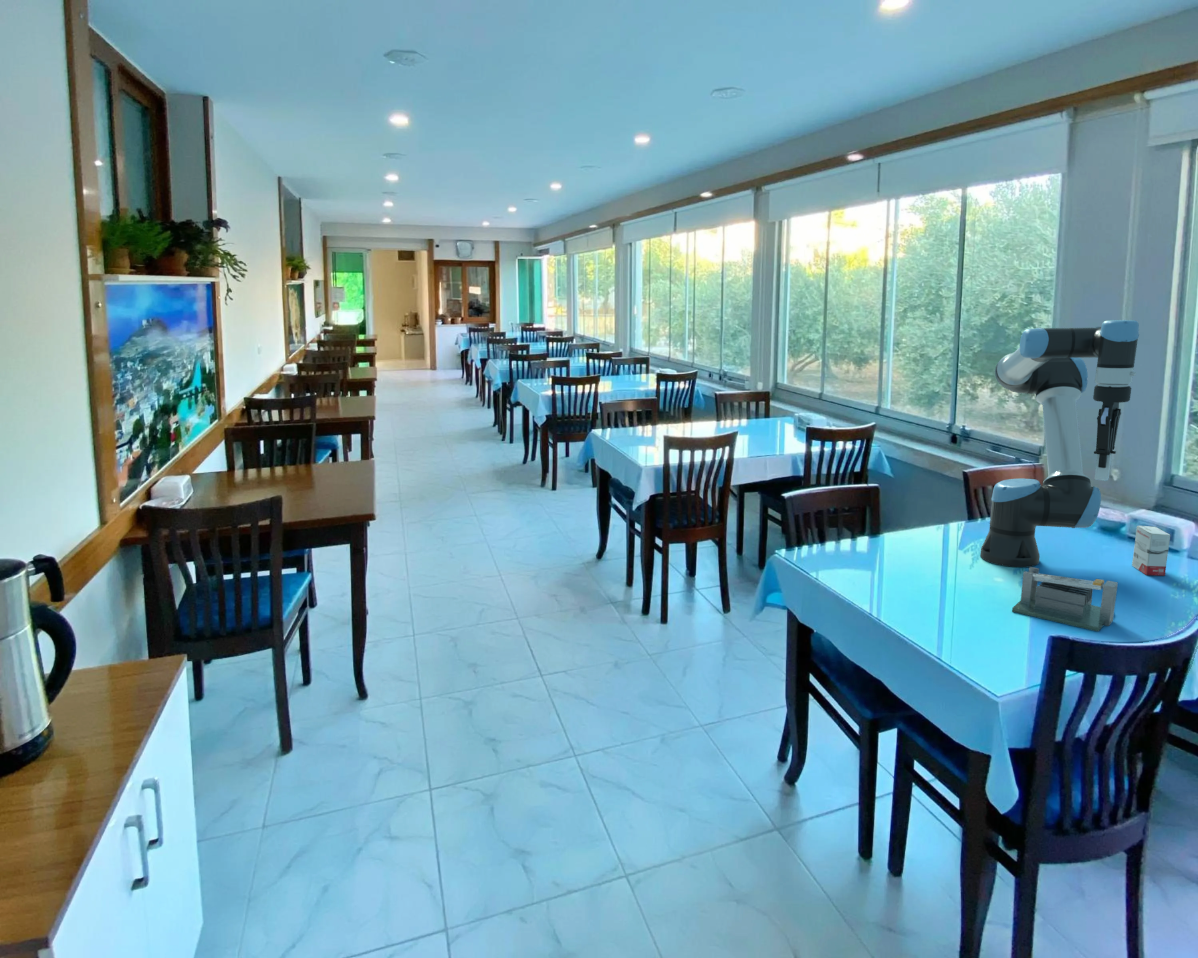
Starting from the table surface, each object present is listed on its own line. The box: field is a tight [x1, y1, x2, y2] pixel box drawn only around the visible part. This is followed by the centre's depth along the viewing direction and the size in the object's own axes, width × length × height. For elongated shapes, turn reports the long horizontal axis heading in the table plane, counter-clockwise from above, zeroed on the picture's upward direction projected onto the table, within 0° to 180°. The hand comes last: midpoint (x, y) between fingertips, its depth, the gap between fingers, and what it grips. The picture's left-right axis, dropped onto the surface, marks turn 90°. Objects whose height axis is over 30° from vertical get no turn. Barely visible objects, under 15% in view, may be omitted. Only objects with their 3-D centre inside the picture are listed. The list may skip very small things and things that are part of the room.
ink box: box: [1131, 525, 1171, 577], centre depth 210 cm, size 9×5×12 cm, turn 168°
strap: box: [1031, 572, 1105, 591], centre depth 183 cm, size 16×3×2 cm, turn 45°
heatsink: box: [1011, 566, 1118, 633], centre depth 183 cm, size 19×14×10 cm
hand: (1101, 479), depth 191 cm, fingers closed
